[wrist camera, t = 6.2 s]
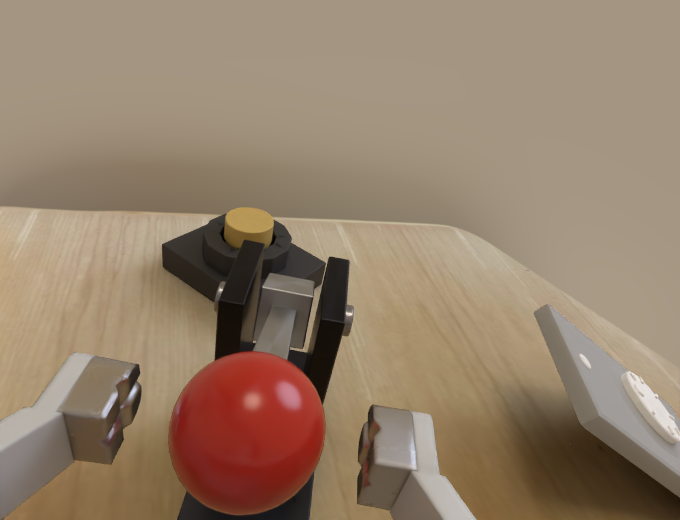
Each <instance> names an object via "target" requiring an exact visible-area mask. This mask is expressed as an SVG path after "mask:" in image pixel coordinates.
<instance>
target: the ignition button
mask: <svg viewBox="0 0 680 520" xmlns="http://www.w3.org/2000/svg"><path fill="white" fill-rule="evenodd" d="M273 227H274V220H273V218H272V217H271V216H270V215H269V214H268V213H266V212H265V211H262V210H260V209H256V208H250V207H249V208H248V207H242V208H236V209H233V210H231V211H229V212H228V213H227V215H226V217H225V229H224V239H225V241H226V243H227V244H229V245H230V246H232V247H233V248H236V249H240V248H241V245H242V243H243V240H250V241H255V242H260V243H264V244H265V249H266V248H267V247H268V246H269V245H270V244H271V241H272V234H273Z"/></svg>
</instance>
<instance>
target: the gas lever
mask: <svg viewBox="0 0 680 520" xmlns="http://www.w3.org/2000/svg"><path fill="white" fill-rule="evenodd" d="M314 286H315V282H314V281H311V280H305V279H300V278H295V277H290V276H284V275H279V274H274V273H269V275H268V276H267V278H266V280H265V282H264V283H263V285H262V287H261V291H260V297H259V302H258V308H257V313H256V319H255V325H254V330H253V336H252V340H255V341H257V342H256V344H255V347H254V349H253V351H245V352H237V353H233V354H230V355H227V356H224V357H221V358H219V359H217V360H215V361H213V362H212V363H210V364H208V365H207V366H206V367H204V368H203V369H201V370H200V371H199V372H198V373H197V374H196V375H195V376H194V377H193V378H192V379H191V380H190V381H189V383H188V384H187V385H186V386H185V388H184V389H183V391H182V392H181V394H180V396H179V398H178V400H177V402H176V404H175V406H174V409H173V412H172V416H171V420H170V425H169V433H168V444H169V453H170V457H171V461H172V465H173V468H174V470H175V472H176V474H177V476H178V479H179V480H180V482H181V483H182V484H183V486H184V487H185V489H186V490H187V491H188V492H189V493H190V494H191V495H192V496H193V497H194V498H195V499H196V500H198V501H199V502H200V503H202V504H203V505H205V506H207V507H208V508H211V509H213V510H215V511H218V512H221V513H225V514H230V515H253V514H259V513H263V512H266V511H269V510H271V509H273V508H276V507H278V506H280V505H281V504H283V503H285V502H286V501H288V500H289V499H290V498H291V497H293V496H294V495H295V494H297V492H298V491H299V490H300V489H301V488H302V487H303V486H304V485H305V484H306V483H307V481H308V480H309V478H310V477H311V475H312V474H313V472H314V470H315V469H316V466H317V464H318V462H319V459H320V457H321V454H322V450H323V447H324V440H325V416H324V409H323V406H322V403H321V400H320V397H319V395H318V393H317V390H316V388H315V387H314V385H313V384H312V382H311V381H310V379H309V378H308V377H307V376H306V375H305V374H304V373H303V372H302V370H300V369H299V368H298V367H297V366H295V365H294V364H293V363H291V362H290V361H288V355H289V350H290V347H293V348H299V349H303V347H304V342H305V337H306V332H307V327H308V322H309V317H310V312H311V307H312V302H313V296H314Z"/></svg>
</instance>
